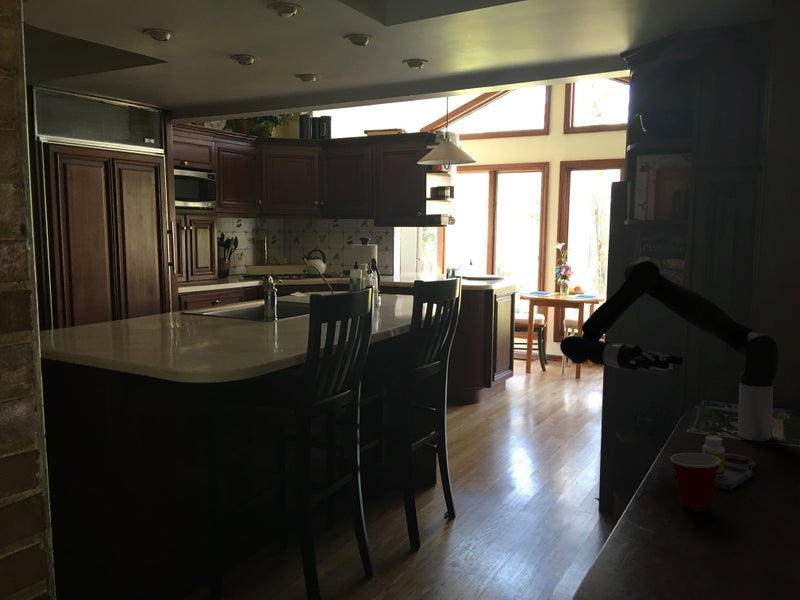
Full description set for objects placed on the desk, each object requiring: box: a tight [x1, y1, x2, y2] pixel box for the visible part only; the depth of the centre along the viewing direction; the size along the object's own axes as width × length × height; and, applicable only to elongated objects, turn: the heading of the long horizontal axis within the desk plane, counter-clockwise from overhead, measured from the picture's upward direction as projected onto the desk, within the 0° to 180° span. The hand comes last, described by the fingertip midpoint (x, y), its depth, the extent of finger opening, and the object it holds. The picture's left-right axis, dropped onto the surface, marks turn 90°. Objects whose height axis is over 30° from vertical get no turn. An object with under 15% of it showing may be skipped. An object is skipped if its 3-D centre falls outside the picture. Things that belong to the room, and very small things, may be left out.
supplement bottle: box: [701, 435, 726, 477], centre depth 168 cm, size 5×5×10 cm
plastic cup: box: [669, 452, 721, 512], centre depth 149 cm, size 11×11×12 cm
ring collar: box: [724, 453, 756, 470], centre depth 178 cm, size 10×10×1 cm
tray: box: [673, 463, 753, 492], centre depth 169 cm, size 15×14×2 cm
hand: (675, 363), depth 179 cm, fingers open, 8 cm apart
